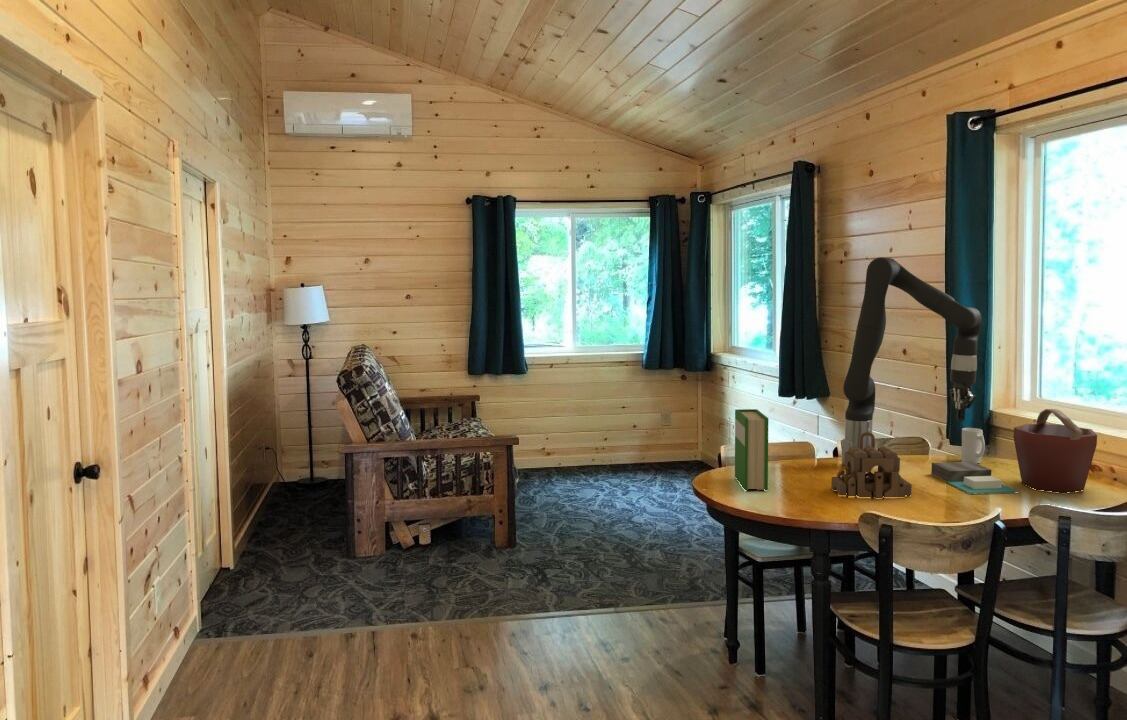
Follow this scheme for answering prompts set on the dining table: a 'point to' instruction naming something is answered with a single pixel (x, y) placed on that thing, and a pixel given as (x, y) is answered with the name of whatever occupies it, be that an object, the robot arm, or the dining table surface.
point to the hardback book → (751, 449)
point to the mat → (970, 490)
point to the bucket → (1054, 453)
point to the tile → (982, 482)
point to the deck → (958, 470)
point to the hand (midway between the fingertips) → (960, 420)
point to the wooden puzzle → (879, 482)
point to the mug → (972, 445)
